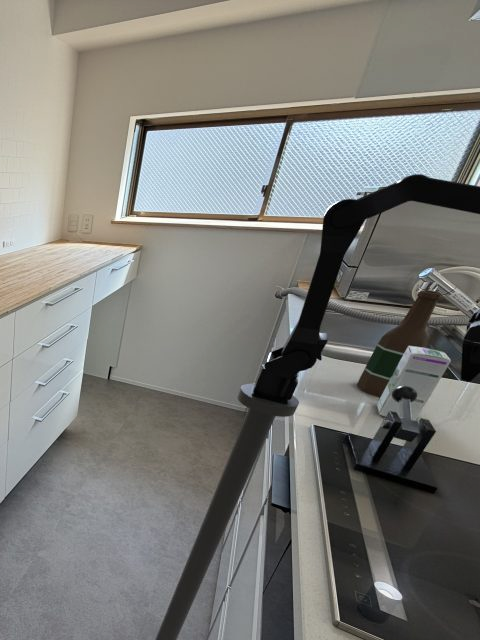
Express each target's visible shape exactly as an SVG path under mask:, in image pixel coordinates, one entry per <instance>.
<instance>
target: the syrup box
mask: <svg viewBox="0 0 480 640" xmlns="http://www.w3.org/2000/svg"><path fill="white" fill-rule="evenodd" d="M451 361H452V360H451V358H450V357H449V356H448V355H447V353H446V352H444V351H442V350H437V349H434V348H428V347H426V348H422V347H414V346H408V347H407V349H406V351H405V353H404V355H403V356H402V358H401V360H400V362H399V364H398V366H397V367H396V369H395V371H394V373H393V375H392V377H391V379H390V380H389V382H388V384H387V386H386V388H385V390H384V391H383V393H382V395H381V397H380V396H379V399H378V401H377V403H376V408H377V412H378V415H379V416H383V417H384V418H385V417H386V416H387V414H388V412H389V411H393V412H397V414H398V416H399V418H400V410H399V403H398V402H396V401H395V400H394V399H393V398H392V391H393V390H394V389H395V388H397V387H400V386H409V387H411V388H413V389H415V390H416V392H417V398H416V400H415V401H413V402H411V403H410V406H411V420H414V421H417V419H418V417H419V416H420V414H422V413H421V412H422V411H423V410H424V407H425V406H426V404H427V403H428V401H429V399H430V398H431V396H432V394H433V393H434V391H435V389H436V388H437V385H438V384H439V382H440V381H441V379H442V377H443V375H444V374H445V371H446V370H447V369H448V367H449V365H450V364H451Z"/></svg>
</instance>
